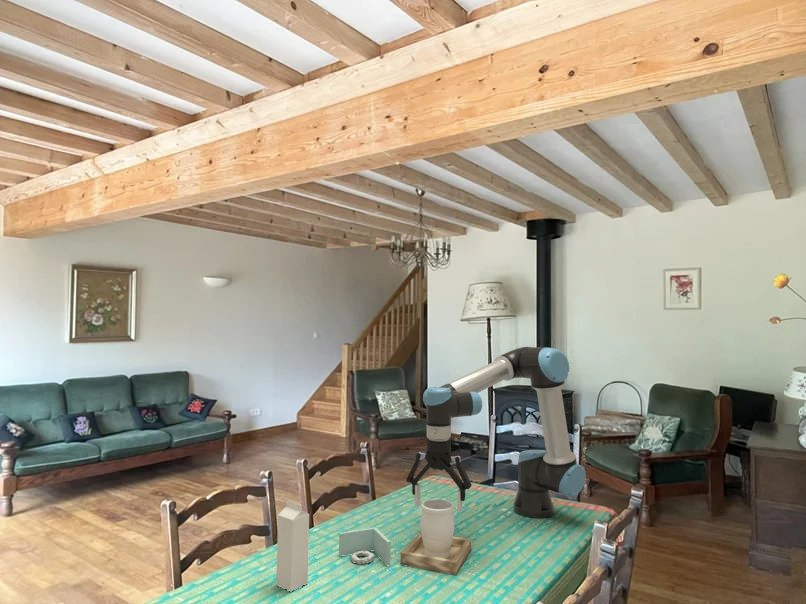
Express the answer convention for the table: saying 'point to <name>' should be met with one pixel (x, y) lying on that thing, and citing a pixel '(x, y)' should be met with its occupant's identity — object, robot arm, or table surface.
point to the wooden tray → (450, 565)
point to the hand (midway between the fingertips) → (438, 508)
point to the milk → (292, 547)
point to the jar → (437, 527)
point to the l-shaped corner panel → (365, 545)
